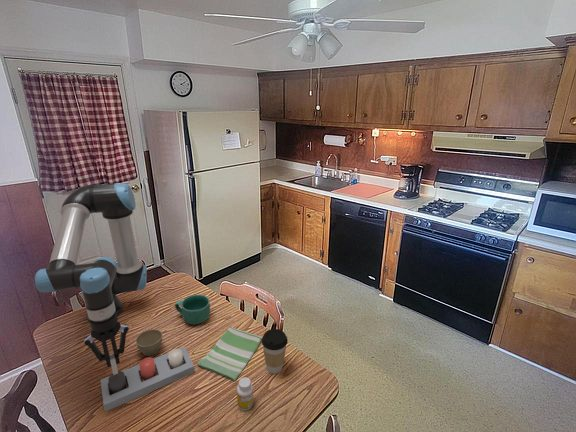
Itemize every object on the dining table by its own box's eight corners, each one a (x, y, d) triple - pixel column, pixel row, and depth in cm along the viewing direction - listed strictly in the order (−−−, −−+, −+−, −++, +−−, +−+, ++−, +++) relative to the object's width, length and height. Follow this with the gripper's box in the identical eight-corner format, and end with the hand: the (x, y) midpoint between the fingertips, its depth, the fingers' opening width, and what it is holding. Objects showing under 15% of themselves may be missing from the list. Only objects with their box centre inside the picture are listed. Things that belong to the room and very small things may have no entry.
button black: (110, 388, 111) (107, 375, 109) (126, 381, 114) (123, 369, 112) (112, 398, 107) (109, 385, 105) (128, 391, 110) (125, 378, 108)
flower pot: (155, 362, 123) (152, 348, 121) (132, 358, 125) (129, 344, 122) (169, 344, 132) (167, 330, 130) (148, 340, 134) (145, 327, 132)
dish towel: (196, 367, 122) (195, 361, 121) (229, 329, 142) (228, 325, 141) (235, 382, 115) (234, 377, 115) (263, 341, 136) (263, 336, 135)
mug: (215, 313, 152) (214, 297, 149) (202, 330, 141) (200, 313, 138) (185, 307, 156) (183, 291, 153) (170, 323, 145) (168, 306, 142)
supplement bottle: (238, 397, 109) (237, 375, 106) (253, 396, 110) (252, 375, 107) (237, 411, 104) (235, 389, 101) (253, 410, 105) (252, 388, 101)
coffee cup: (290, 361, 125) (291, 331, 120) (281, 380, 116) (282, 349, 111) (267, 355, 128) (267, 325, 123) (257, 373, 119) (257, 342, 114)
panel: (102, 385, 113) (100, 379, 112) (185, 352, 128) (184, 346, 127) (105, 411, 103) (103, 405, 102) (194, 372, 119) (194, 366, 118)
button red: (140, 373, 116) (138, 361, 114) (154, 367, 118) (152, 355, 116) (143, 383, 112) (140, 370, 110) (157, 377, 115) (155, 364, 113)
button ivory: (168, 364, 121) (166, 352, 119) (181, 358, 124) (180, 346, 122) (171, 373, 118) (170, 360, 116) (185, 367, 120) (183, 355, 118)
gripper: (78, 329, 93) (94, 388, 101) (126, 314, 100) (137, 370, 108) (78, 315, 99) (92, 372, 107) (123, 302, 106) (134, 356, 114)
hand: (115, 371), depth 107 cm, fingers closed
